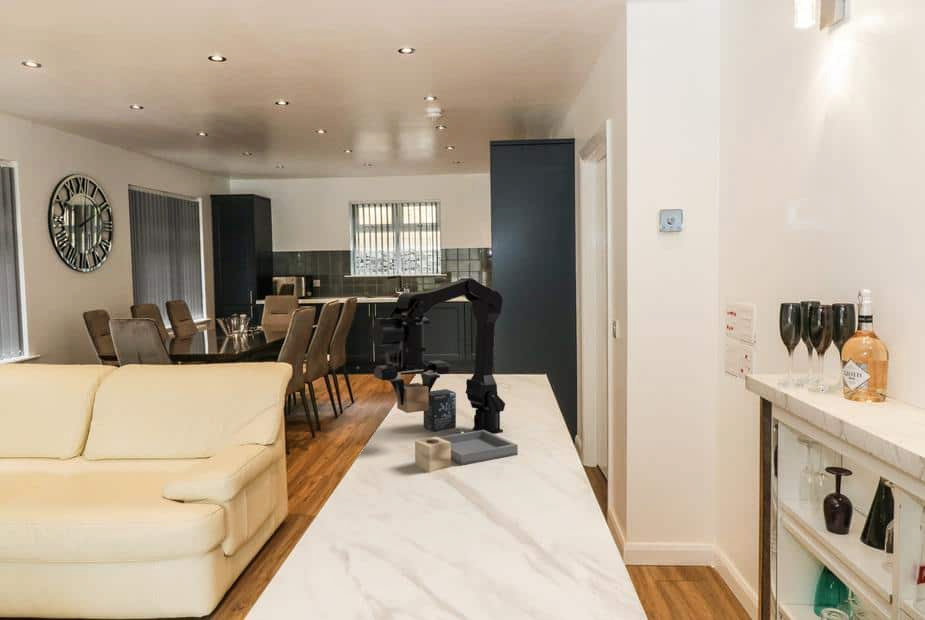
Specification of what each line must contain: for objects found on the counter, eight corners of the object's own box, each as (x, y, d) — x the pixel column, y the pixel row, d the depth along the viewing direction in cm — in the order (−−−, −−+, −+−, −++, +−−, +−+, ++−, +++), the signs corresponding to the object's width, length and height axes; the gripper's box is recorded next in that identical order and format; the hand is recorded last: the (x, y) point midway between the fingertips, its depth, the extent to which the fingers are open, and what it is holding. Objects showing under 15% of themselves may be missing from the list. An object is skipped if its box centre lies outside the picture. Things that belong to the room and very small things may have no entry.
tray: (483, 438, 171) (483, 429, 171) (517, 454, 157) (517, 444, 157) (430, 447, 163) (430, 438, 163) (461, 465, 149) (461, 455, 149)
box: (433, 432, 178) (432, 395, 177) (423, 427, 182) (422, 391, 182) (456, 428, 182) (456, 391, 181) (446, 423, 187) (445, 388, 186)
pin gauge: (461, 437, 172) (461, 428, 172) (465, 439, 170) (465, 430, 170) (423, 443, 167) (423, 434, 166) (427, 446, 165) (427, 437, 164)
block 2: (436, 460, 153) (435, 436, 152) (450, 467, 148) (450, 441, 148) (415, 465, 149) (415, 440, 149) (429, 472, 145) (429, 446, 144)
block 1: (418, 405, 166) (418, 382, 165) (428, 410, 161) (428, 386, 160) (397, 408, 163) (396, 384, 162) (407, 413, 158) (406, 388, 157)
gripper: (430, 336, 172) (431, 393, 173) (365, 341, 163) (366, 401, 164) (450, 341, 162) (450, 401, 164) (382, 346, 153) (383, 410, 154)
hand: (412, 403), depth 162 cm, fingers closed on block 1, 6 cm apart
